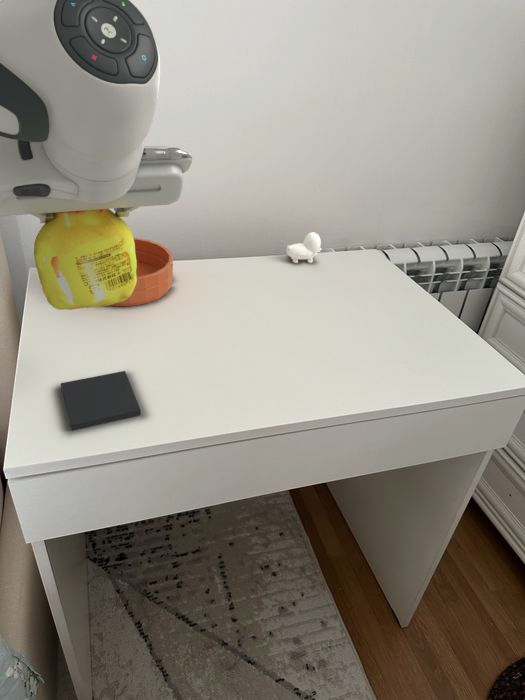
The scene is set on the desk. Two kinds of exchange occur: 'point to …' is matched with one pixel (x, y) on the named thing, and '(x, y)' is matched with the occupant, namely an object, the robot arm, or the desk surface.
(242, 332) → the desk surface
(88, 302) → the bottle
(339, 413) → the desk surface
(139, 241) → the bowl
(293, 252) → the toy creature
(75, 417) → the mat
